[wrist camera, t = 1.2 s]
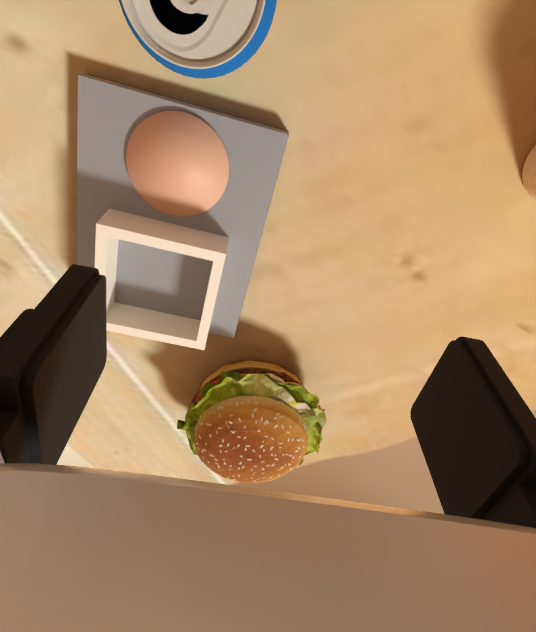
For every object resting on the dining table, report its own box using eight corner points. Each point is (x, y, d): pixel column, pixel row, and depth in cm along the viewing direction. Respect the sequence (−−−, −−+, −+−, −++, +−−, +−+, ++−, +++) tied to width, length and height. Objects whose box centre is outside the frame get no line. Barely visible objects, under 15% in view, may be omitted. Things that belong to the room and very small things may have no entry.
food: (348, 392, 44) (363, 456, 37) (260, 456, 50) (259, 521, 43) (249, 320, 39) (245, 379, 32) (163, 400, 45) (145, 464, 38)
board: (84, 73, 28) (58, 79, 24) (288, 131, 30) (290, 144, 26) (81, 298, 37) (61, 325, 34) (234, 330, 39) (231, 359, 36)
